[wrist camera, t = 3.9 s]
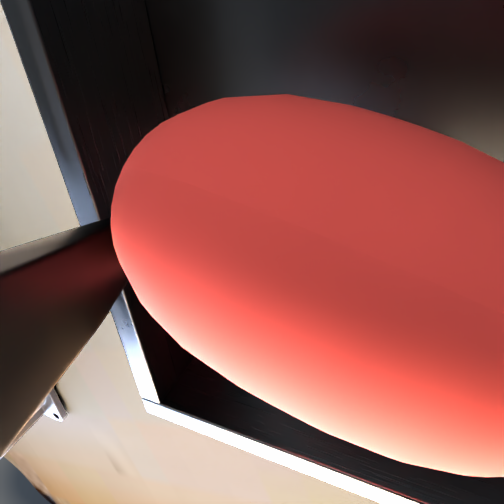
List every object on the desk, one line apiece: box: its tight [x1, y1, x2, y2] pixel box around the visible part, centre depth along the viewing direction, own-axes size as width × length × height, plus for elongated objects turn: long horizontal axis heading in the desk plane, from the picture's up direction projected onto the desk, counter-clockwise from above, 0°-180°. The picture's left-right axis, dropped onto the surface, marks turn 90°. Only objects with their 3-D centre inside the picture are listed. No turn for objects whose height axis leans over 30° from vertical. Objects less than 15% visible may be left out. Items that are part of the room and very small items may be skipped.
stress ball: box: [111, 94, 504, 477], centre depth 8 cm, size 5×9×6 cm, turn 70°
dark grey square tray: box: [0, 0, 504, 504], centre depth 10 cm, size 17×15×4 cm
